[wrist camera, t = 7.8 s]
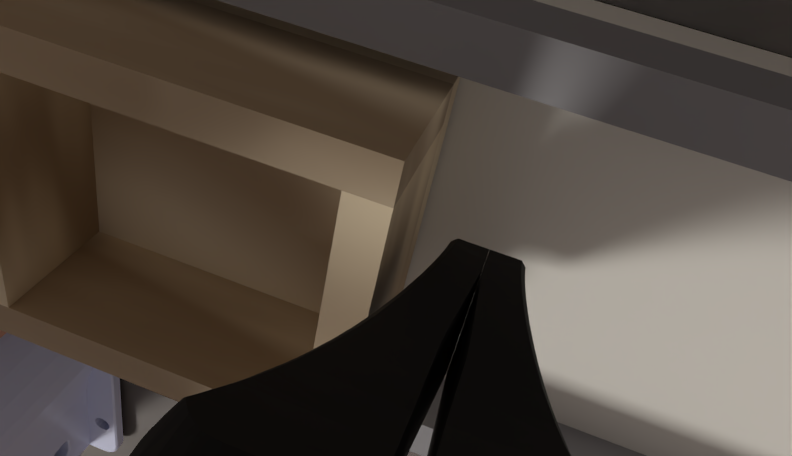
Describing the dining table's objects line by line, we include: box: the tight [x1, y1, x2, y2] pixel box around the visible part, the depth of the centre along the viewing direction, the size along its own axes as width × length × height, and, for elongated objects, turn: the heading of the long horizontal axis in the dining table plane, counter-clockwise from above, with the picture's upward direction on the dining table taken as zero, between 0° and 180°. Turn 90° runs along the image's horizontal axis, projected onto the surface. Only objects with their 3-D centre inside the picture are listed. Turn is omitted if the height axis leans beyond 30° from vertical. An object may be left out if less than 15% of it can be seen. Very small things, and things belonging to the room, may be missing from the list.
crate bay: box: [0, 0, 792, 456], centre depth 14 cm, size 10×19×4 cm, turn 78°
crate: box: [0, 0, 460, 402], centre depth 14 cm, size 7×8×4 cm
